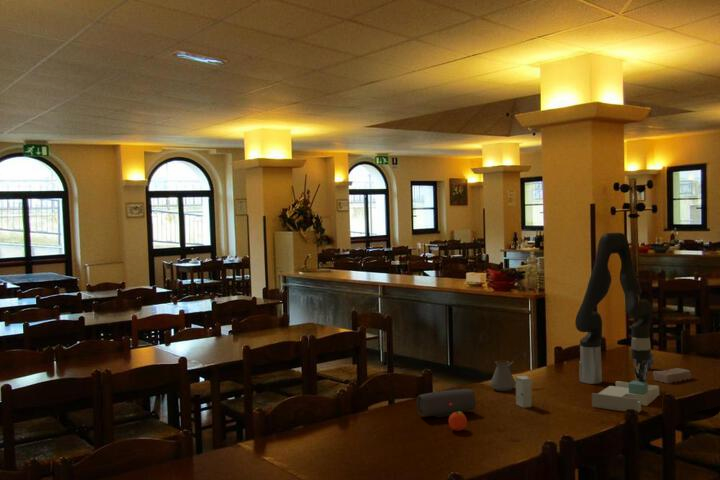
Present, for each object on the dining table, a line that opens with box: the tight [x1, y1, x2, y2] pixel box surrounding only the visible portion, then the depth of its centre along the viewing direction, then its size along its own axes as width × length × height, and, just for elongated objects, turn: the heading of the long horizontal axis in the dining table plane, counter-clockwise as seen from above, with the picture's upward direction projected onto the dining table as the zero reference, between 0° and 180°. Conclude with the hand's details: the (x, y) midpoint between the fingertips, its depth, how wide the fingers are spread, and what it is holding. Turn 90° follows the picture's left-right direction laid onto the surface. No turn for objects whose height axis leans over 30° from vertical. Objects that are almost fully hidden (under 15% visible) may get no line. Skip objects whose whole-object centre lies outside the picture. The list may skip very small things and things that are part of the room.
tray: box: [591, 380, 660, 414], centre depth 277 cm, size 18×31×6 cm, turn 141°
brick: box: [652, 367, 692, 384], centre depth 308 cm, size 17×8×5 cm, turn 116°
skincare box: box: [515, 375, 532, 409], centre depth 277 cm, size 6×4×12 cm
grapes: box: [631, 352, 655, 370], centre depth 333 cm, size 12×7×12 cm, turn 36°
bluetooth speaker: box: [416, 388, 477, 418], centre depth 268 cm, size 23×9×10 cm, turn 105°
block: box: [628, 380, 649, 395], centre depth 275 cm, size 6×6×4 cm
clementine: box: [448, 411, 468, 432], centre depth 249 cm, size 8×7×7 cm
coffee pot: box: [490, 351, 527, 392], centre depth 307 cm, size 21×12×15 cm, turn 125°
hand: (642, 387), depth 279 cm, fingers closed
